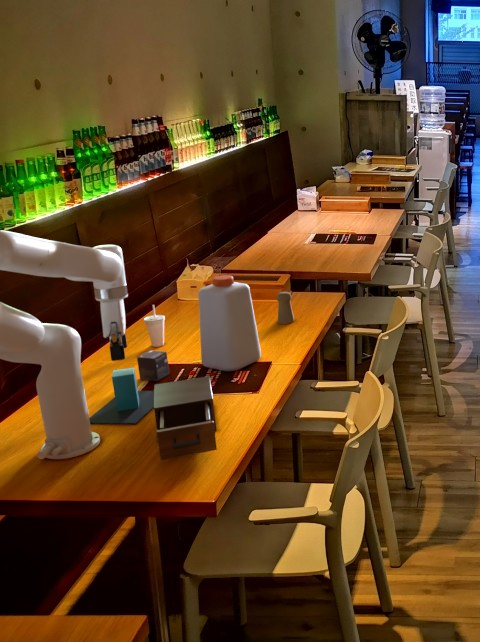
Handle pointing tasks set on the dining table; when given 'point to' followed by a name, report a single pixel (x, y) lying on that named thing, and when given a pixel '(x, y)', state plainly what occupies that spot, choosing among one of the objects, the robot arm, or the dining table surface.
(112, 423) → the mat
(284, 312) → the pepper shaker
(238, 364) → the plastic bottle
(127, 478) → the dining table surface
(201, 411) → the drawer
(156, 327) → the smoothie
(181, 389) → the cabinet
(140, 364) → the box
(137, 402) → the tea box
